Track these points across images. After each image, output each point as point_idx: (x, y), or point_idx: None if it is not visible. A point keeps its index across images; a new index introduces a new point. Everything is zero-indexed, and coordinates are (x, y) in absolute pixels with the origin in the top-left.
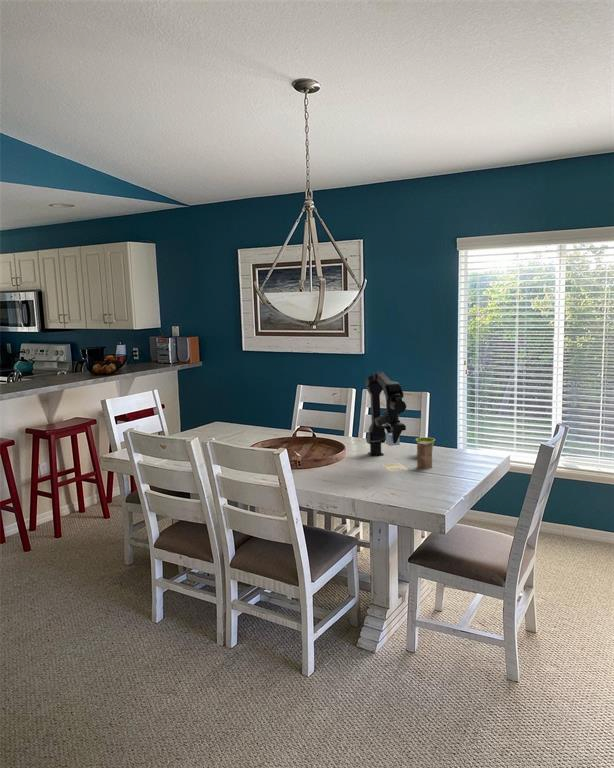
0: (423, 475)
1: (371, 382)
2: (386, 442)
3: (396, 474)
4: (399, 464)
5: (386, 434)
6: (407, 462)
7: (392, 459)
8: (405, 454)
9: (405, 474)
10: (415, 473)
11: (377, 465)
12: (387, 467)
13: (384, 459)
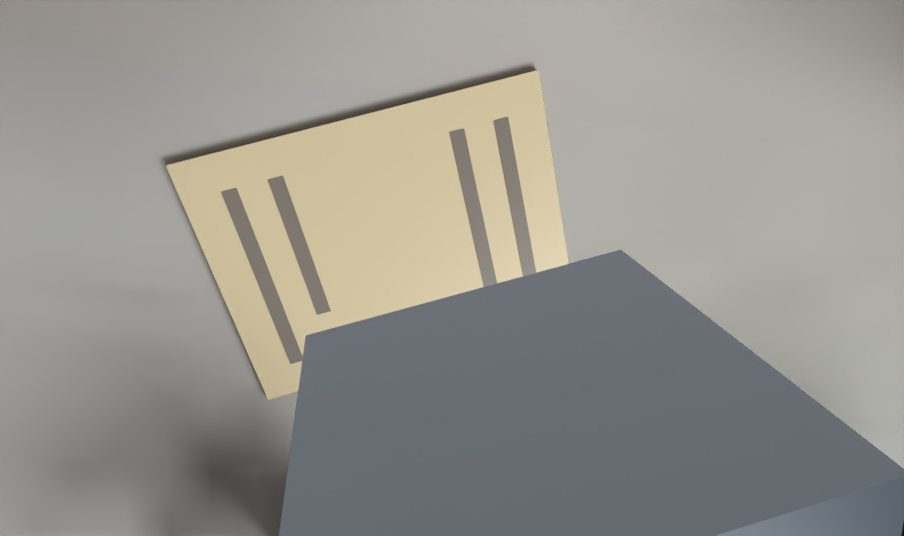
0: (32, 530)
1: None
2: (581, 283)
3: (30, 236)
4: None
5: (751, 476)
6: None
7: (761, 251)
8: (895, 399)
9: (49, 349)
10: (113, 458)
11: (530, 7)
12: (380, 146)
13: (794, 151)
